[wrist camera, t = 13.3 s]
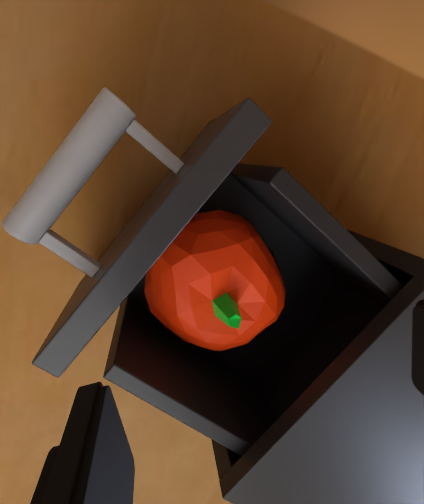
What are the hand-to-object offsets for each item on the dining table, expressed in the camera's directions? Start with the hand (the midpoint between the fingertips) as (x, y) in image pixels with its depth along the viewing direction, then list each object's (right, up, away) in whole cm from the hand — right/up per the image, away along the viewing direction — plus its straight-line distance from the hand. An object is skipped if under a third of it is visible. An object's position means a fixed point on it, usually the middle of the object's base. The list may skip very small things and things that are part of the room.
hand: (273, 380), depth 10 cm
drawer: (-2, +4, +12) cm, 12 cm away
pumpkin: (-2, +3, +10) cm, 11 cm away
